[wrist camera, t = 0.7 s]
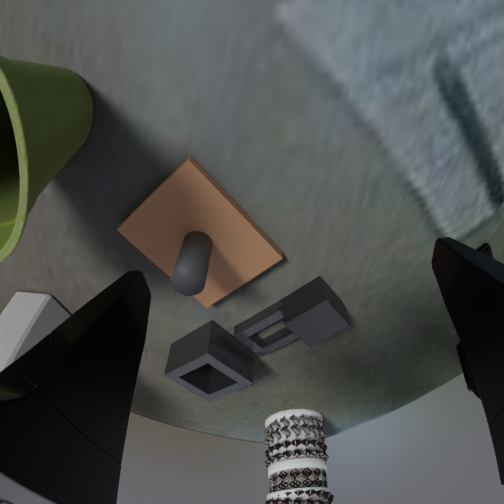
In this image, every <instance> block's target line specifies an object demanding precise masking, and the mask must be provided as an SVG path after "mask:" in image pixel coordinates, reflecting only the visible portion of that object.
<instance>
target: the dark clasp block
mask: <svg viewBox="0 0 504 504" xmlns="http://www.w3.org/2000/svg"><path fill="white" fill-rule="evenodd" d="M282 318H283V319H284V325H285V326H287V327H285V328H283V329H281V330H279V331H277V332H276V333H274V334H272V335H270V336H268V337H266V338H264V339H261V338H260V337H259V336H257V335H256V334H255V333H257V332H258V331H260V330H262V329H264V328H266V327H268V326H269V325H271V324H273V323H275V322H276V321H278V320H280V319H282ZM348 327H350V325H349V321H348V318H347V315H346V311H345V308H344V305H343V302H342V301H341V300H340V299H339V297H338V296H337V295H336V294H335V293H334V292H333V290H332V289H331V288H330V287H329V286H328V285H327V284H326V282H325V281H324V280H323V279H322V278H321V277H320V276H319V277H317V278H316V279H314V280H313V281H311V282H309V283H308V284H306V285H304V286H303V287H301V288H300V289H298V290H296V291H295V292H293V293H291V294H290V295H288V296H286V297H285V298H283V299H281V300H280V301H278V302H276V303H275V304H273V305H271V306H270V307H268V308H266V309H265V310H263V311H261V312H259V313H258V314H256V315H254V316H253V317H251V318H249V319H247V320H246V321H244V322H242V323H240V324H239V325H237V326H235V327H234V337H235V338H237V339H238V340H239V341H241V342H242V343H243V344H245V345H246V346H247V347H249V348H250V349H251V350H253V351H254V352H255V353H257V354H258V355H259V356H261V357H262V356H264V355H266V354H268V353H270V352H272V351H274V350H276V349H278V348H280V347H282V346H284V345H286V344H287V343H289V342H291V341H293V340H295V339H297V338H300V339H301V340H303V341H304V342H305V343H306V344H307V345H308V346H309V347H312V346H314V345H316V344H318V343H320V342H322V341H324V340H326V339H328V338H329V337H331V336H333V335H335V334H337V333H339V332H341V331H342V330H344V329H346V328H348Z"/></svg>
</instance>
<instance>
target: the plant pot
mask: <svg viewBox="0 0 504 504" xmlns="http://www.w3.org/2000/svg"><path fill="white" fill-rule="evenodd" d="M93 113H94V109H93V100H92V96H91V94H90V92H89V90H88V89H87V87H86V85H85V83H84V82H83V80H82V78H81V77H80V76H79V75H78V74H76V73H75V72H73V71H71V70H68V69H65V68H61V67H55V66H50V65H44V64H38V63H32V62H25V61H18V60H10V59H7V58H5V57H2V56H0V263H1V262H2V261H4V260H5V259H6V258H7V257H8V256H9V255H10V254H11V253H12V252H13V250H14V249H15V248H16V246H17V244H18V243H19V241H20V238H21V236H22V234H23V231H24V228H25V224H26V220H27V215H28V214H29V212H30V211H31V209H32V208H33V206H34V204H35V202H36V199H37V197H38V196H39V194H40V193H41V192H42V191H43V189H44V188H45V187H46V186H47V185H48V184H49V182H50V181H51V180H52V179H53V178H54V177H55V175H56V174H57V173H58V172H59V171H60V170H61V169H62V167H63V166H64V165H65V164H66V163H67V162H68V161H69V160H70V159H71V158H72V157H73V155H74V154H75V153H76V152H77V151H78V150H79V149H80V148H81V147H82V145H83V144H84V143H85V141H86V139H87V137H88V135H89V133H90V130H91V127H92V123H93Z"/></svg>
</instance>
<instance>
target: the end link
mask: <svg viewBox="0 0 504 504" xmlns="http://www.w3.org/2000/svg"><path fill="white" fill-rule="evenodd" d="M164 375H165V376H166V377H168V378H169V379H171V380H173V381H174V382H176V383H178V384H179V385H181V386H183V387H184V388H186V389H188V390H189V391H191V392H193V393H195V394H196V395H198V396H200V397H202V398H204V399H205V400H207V401H211V400H214V399H217V398H219V397H222V396H224V395H227V394H229V393H232V392H234V391H237V390H239V389H241V388H244V387H246V386H248V385H251V384H253V351H252V350H251V349H249V348H248V347H247V346H245V345H244V344H243V343H241V342H240V341H239V340H237V339H236V338H235V337H233V336H232V335H231V334H229V333H228V332H227V331H226V330H224V329H223V328H222V327H220V326H219V325H218V324H217V323H215V322H214V321H213V320H211V321H209V322H208V323H206V324H204V325H203V326H201V327H199V328H198V329H196V330H194V331H193V332H191V333H189V334H188V335H186V336H184V337H183V338H181V339H179V340H178V341H176V342H174V343H173V344H171V347H170V352H169V356H168V360H167V365H166V369H165V374H164Z"/></svg>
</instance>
